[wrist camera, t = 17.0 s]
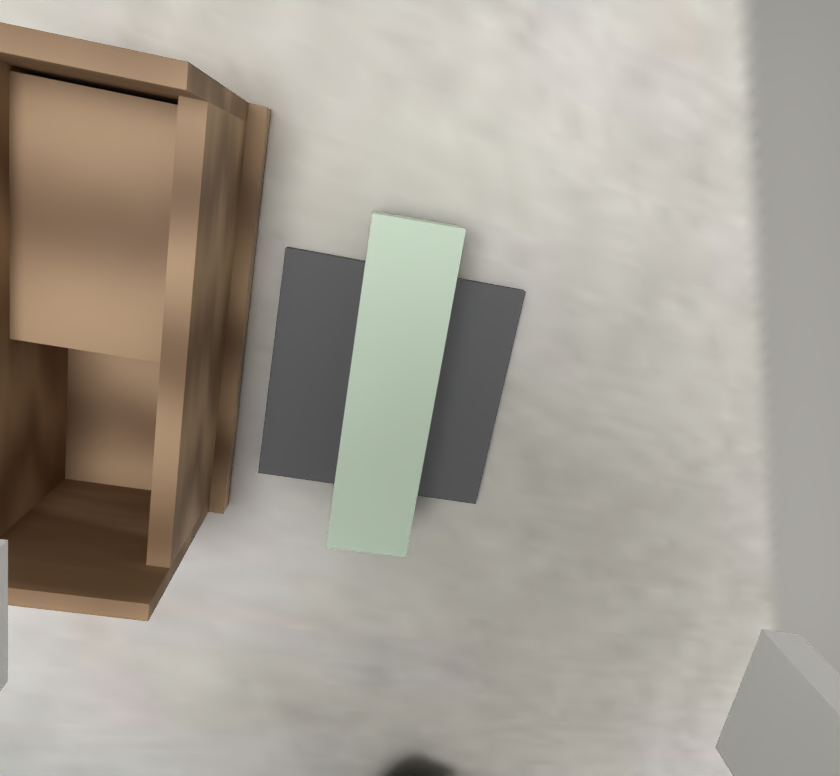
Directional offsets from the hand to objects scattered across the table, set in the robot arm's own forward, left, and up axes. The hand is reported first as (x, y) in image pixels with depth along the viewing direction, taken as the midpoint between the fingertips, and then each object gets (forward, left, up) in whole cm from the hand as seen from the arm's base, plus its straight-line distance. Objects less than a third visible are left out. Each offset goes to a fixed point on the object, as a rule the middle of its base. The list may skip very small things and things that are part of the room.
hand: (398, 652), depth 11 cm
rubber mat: (-2, +1, -23) cm, 23 cm away
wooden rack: (+6, +10, -23) cm, 26 cm away
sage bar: (-1, 0, -22) cm, 22 cm away
